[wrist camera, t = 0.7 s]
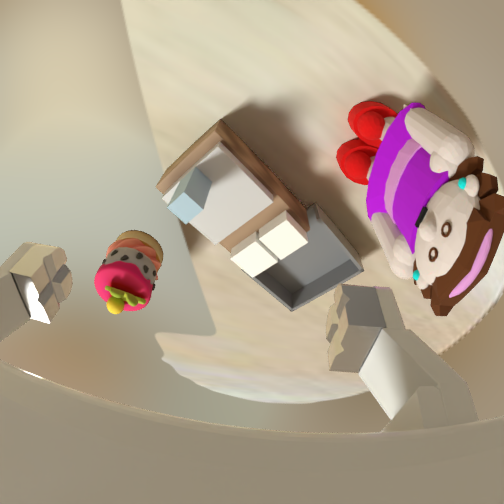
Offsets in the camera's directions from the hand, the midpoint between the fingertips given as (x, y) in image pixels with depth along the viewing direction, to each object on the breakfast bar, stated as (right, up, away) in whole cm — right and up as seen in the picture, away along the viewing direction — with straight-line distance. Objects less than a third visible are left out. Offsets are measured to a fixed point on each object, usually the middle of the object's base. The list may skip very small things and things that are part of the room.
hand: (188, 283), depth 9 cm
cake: (-20, +1, +51) cm, 54 cm away
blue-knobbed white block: (-3, +9, +36) cm, 37 cm away
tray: (+11, +1, +49) cm, 50 cm away
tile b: (+2, +1, +42) cm, 42 cm away
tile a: (+6, +4, +39) cm, 40 cm away
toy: (+19, +18, +36) cm, 44 cm away
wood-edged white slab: (-1, +11, +42) cm, 43 cm away
